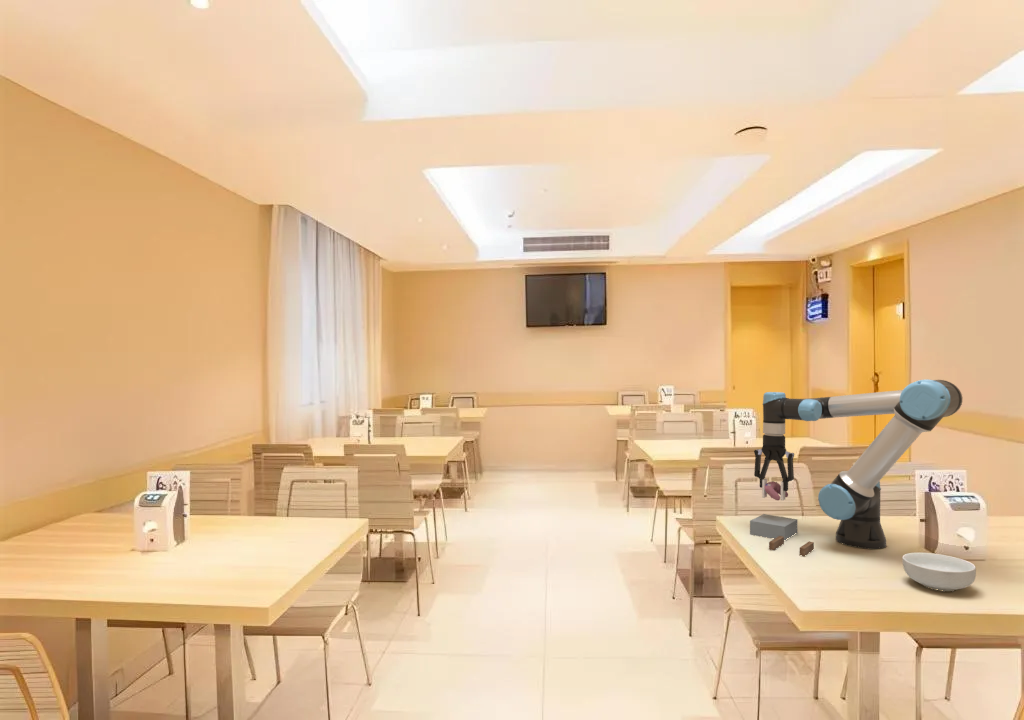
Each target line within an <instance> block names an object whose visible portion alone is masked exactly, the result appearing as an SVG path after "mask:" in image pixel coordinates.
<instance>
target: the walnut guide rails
mask: <svg viewBox="0 0 1024 720" xmlns="http://www.w3.org/2000/svg"><path fill="white" fill-rule="evenodd" d="M782 544H783V545H784V544H785V541H784V537H783V536H778V537H777V538H775V539H772V540H770V541H769V542H768V550H769V549H770V551H775V550H777V549H778V548H780V547H782V546H783V545H782ZM781 545H782V546H781ZM779 546H780V547H779ZM814 546H815V542H814V541H809V540H808V541H807V542H806V543H804V544H803V545H801V546H800V547H799V556H800V555H802V556H801V557H804V556H805V555H806V556H808V555H809V554H810V553H811V552H813V551H814V550H815V547H814ZM776 548H777V549H776ZM813 549H814V550H813ZM812 550H813V551H812ZM809 552H810V553H809ZM808 553H809V554H808ZM806 556H805V557H806Z"/></svg>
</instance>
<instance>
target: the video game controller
mask: <svg viewBox="0 0 1024 720" xmlns="http://www.w3.org/2000/svg"><path fill="white" fill-rule="evenodd" d="M764 488H765V491H766V493H767V496H769V497H770V498H771V499H773V500H775V501H781V483H779V482H777V481H769V482H768V481H767V484H766V485H765V486H764ZM788 497H789V493H788V491H785V498H788Z"/></svg>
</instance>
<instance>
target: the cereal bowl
mask: <svg viewBox="0 0 1024 720" xmlns="http://www.w3.org/2000/svg"><path fill="white" fill-rule="evenodd" d="M901 560H902V561H901V562H902V567H903V569H904V570H903V571H904V572H905V574H906V575H907V576H908V577H909V578H910V579H911V580H912V581H915V582H917V583H919V584H920V585H922V586H923V585H924V586H923V587H925V586H926V587H925V588H927V587H929V588H932V589H931V590H933V589H938V590H943V591H942V592H945V591H952V592H955V591H954V590H956V591H957V590H961V589H966V588H968V587H970V586H971V585H972V584H973V583H974V582H975V580H976V576H977V569H976V566H975V564H974V563H972V562H970V561H967V560H966V559H962V558H960V557H955V556H951V555H945V554H940V553H933V552H910V553H909V552H908V553H906V554H903V555H902V558H901ZM929 588H928V589H929Z"/></svg>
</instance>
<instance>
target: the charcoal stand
mask: <svg viewBox="0 0 1024 720" xmlns="http://www.w3.org/2000/svg"><path fill="white" fill-rule="evenodd" d="M798 520H799V519H797V518H790V517H784V516H779V515H773V514H767V513H763V514H761V515H759V516H757V517H755V518H753V519H750V521H749V535H750V536H755V535H756V537H760V536H762V538H766V537H767V539H771V538H774V539H775V538H777V537H778V536H783V537H784V540H786V539H787V538H789V537H790V538H792V537H793V536H792V535H794V534H795V533H797V534H798ZM795 535H796V534H795ZM795 535H794V536H795ZM791 536H792V537H791ZM790 538H789V539H790ZM787 540H788V539H787ZM787 540H786V541H787Z"/></svg>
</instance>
